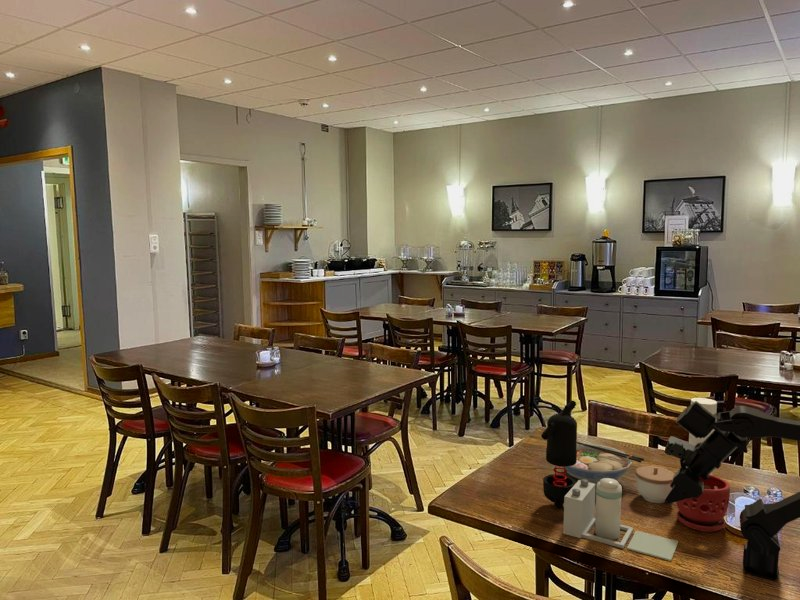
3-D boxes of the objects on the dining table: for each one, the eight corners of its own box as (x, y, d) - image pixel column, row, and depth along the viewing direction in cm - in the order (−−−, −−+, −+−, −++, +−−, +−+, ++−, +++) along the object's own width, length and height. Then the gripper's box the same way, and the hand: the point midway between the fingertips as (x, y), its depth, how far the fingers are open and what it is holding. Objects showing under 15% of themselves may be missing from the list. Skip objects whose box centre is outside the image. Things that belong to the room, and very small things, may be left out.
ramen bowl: (537, 477, 191) (537, 452, 190) (577, 458, 206) (578, 435, 205) (610, 503, 172) (611, 476, 171) (648, 481, 188) (649, 455, 187)
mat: (678, 542, 151) (678, 541, 151) (671, 561, 143) (671, 559, 143) (636, 531, 156) (636, 530, 156) (626, 549, 148) (626, 547, 148)
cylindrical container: (717, 481, 187) (722, 402, 184) (700, 485, 184) (704, 405, 181) (698, 472, 193) (702, 396, 190) (681, 476, 191) (685, 399, 188)
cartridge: (622, 531, 157) (624, 480, 155) (616, 542, 151) (618, 488, 150) (598, 525, 160) (600, 474, 158) (591, 535, 155) (593, 483, 153)
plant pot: (738, 527, 159) (741, 483, 157) (707, 540, 152) (709, 495, 151) (692, 507, 170) (695, 466, 168) (661, 518, 163) (664, 476, 162)
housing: (634, 529, 158) (635, 488, 156) (622, 550, 148) (624, 506, 146) (577, 514, 166) (578, 475, 164) (563, 533, 156) (564, 491, 155)
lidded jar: (628, 498, 176) (629, 467, 174) (644, 487, 183) (645, 457, 182) (665, 510, 168) (667, 478, 167) (680, 498, 175) (682, 467, 174)
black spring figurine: (558, 495, 178) (560, 396, 174) (584, 506, 171) (587, 403, 167) (527, 508, 170) (529, 404, 166) (553, 520, 163) (556, 412, 159)
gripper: (687, 415, 151) (647, 457, 158) (678, 439, 135) (633, 485, 142) (727, 447, 147) (684, 488, 154) (722, 475, 132) (675, 520, 138)
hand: (669, 494), depth 147 cm, fingers open, 9 cm apart
